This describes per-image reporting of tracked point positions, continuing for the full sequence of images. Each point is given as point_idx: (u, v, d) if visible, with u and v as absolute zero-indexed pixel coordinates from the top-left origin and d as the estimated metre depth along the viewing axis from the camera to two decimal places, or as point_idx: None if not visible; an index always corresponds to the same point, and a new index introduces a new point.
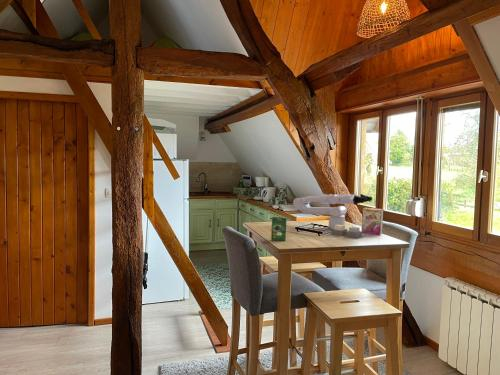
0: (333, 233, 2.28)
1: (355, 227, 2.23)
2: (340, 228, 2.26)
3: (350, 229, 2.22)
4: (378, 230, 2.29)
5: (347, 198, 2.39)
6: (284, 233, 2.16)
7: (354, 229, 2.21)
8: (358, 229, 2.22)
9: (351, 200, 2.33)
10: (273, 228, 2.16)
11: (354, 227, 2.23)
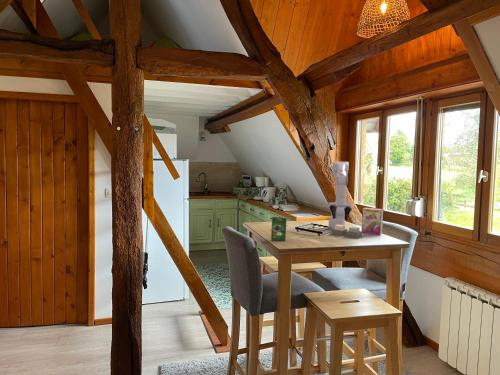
0: (333, 233, 2.28)
1: (355, 227, 2.23)
2: (340, 228, 2.26)
3: (350, 229, 2.22)
4: (378, 230, 2.29)
5: None
6: (284, 233, 2.16)
7: (354, 229, 2.21)
8: (358, 229, 2.22)
9: None
10: (273, 228, 2.16)
11: (354, 227, 2.23)
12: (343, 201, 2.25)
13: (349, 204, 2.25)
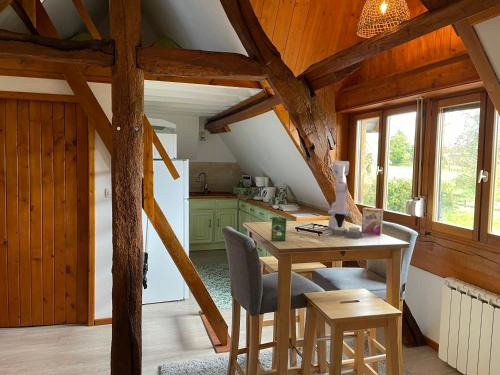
0: (333, 233, 2.28)
1: (355, 227, 2.23)
2: None
3: (350, 229, 2.22)
4: (378, 230, 2.29)
5: None
6: (284, 233, 2.16)
7: (354, 229, 2.21)
8: (358, 229, 2.22)
9: None
10: (273, 228, 2.16)
11: (354, 227, 2.23)
12: (343, 209, 2.25)
13: (349, 212, 2.26)
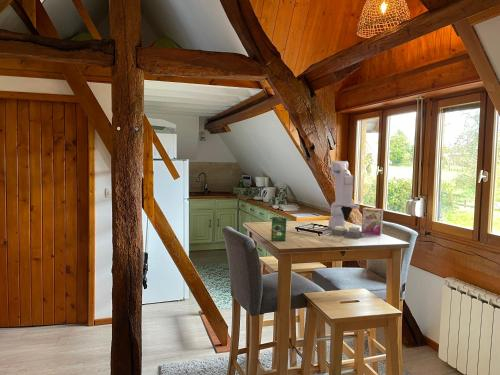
0: (333, 233, 2.28)
1: (355, 227, 2.23)
2: None
3: (350, 229, 2.22)
4: (378, 230, 2.29)
5: None
6: (284, 233, 2.16)
7: (354, 229, 2.21)
8: (358, 229, 2.22)
9: None
10: (273, 228, 2.16)
11: (354, 227, 2.23)
12: (349, 201, 2.22)
13: None
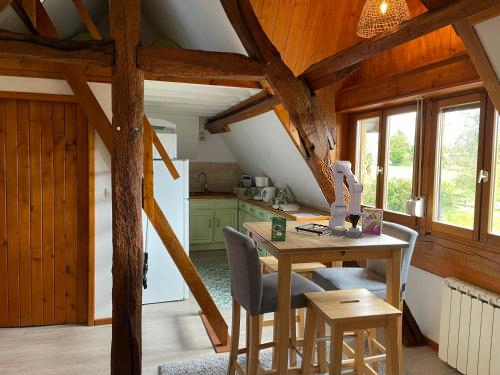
0: (333, 233, 2.28)
1: None
2: None
3: (350, 229, 2.22)
4: (378, 230, 2.29)
5: None
6: (284, 233, 2.16)
7: (354, 229, 2.21)
8: (358, 229, 2.22)
9: None
10: (273, 228, 2.16)
11: None
12: (358, 209, 2.20)
13: None
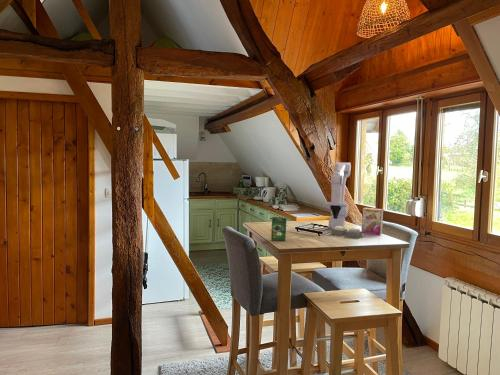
0: (333, 233, 2.28)
1: (355, 229, 2.23)
2: None
3: (350, 231, 2.22)
4: (378, 230, 2.29)
5: None
6: (284, 233, 2.16)
7: (354, 231, 2.21)
8: (358, 231, 2.22)
9: None
10: (273, 228, 2.16)
11: (354, 229, 2.23)
12: (338, 201, 2.27)
13: (344, 203, 2.28)
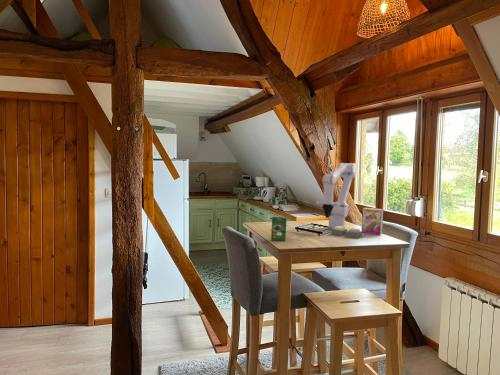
0: (333, 233, 2.28)
1: (355, 229, 2.23)
2: None
3: (350, 231, 2.22)
4: (378, 230, 2.29)
5: None
6: (284, 233, 2.16)
7: (354, 231, 2.21)
8: (358, 231, 2.22)
9: None
10: (273, 228, 2.16)
11: (354, 229, 2.23)
12: (330, 200, 2.31)
13: None
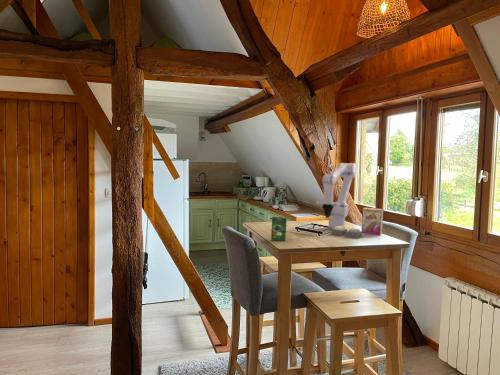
0: (333, 233, 2.28)
1: (355, 229, 2.23)
2: None
3: (350, 231, 2.22)
4: (378, 230, 2.29)
5: None
6: (284, 233, 2.16)
7: (354, 231, 2.21)
8: (358, 231, 2.22)
9: None
10: (273, 228, 2.16)
11: (354, 229, 2.23)
12: (330, 200, 2.31)
13: None
